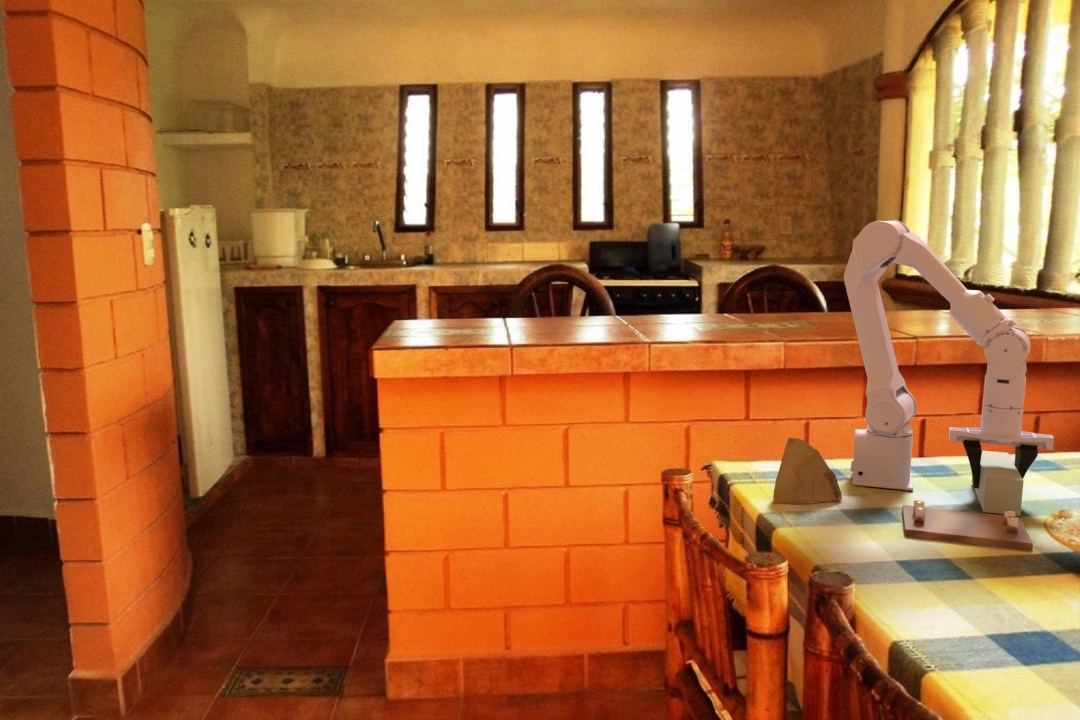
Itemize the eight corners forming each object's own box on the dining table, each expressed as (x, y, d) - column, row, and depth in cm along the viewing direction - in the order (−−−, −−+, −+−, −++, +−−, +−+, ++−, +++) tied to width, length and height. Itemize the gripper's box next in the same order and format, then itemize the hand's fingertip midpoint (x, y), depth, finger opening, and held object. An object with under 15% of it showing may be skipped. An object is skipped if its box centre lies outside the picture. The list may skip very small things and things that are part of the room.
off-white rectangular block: (1020, 515, 130) (1023, 480, 130) (983, 512, 132) (986, 477, 131) (1004, 484, 145) (1007, 452, 144) (971, 481, 147) (974, 449, 146)
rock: (850, 480, 142) (790, 463, 147) (852, 448, 136) (789, 432, 141) (831, 534, 136) (768, 514, 141) (832, 503, 130) (767, 484, 135)
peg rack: (905, 535, 124) (906, 515, 123) (902, 511, 134) (903, 492, 133) (1032, 550, 118) (1034, 529, 118) (1019, 523, 128) (1021, 504, 128)
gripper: (954, 407, 135) (947, 490, 137) (1061, 414, 130) (1052, 501, 132) (950, 397, 141) (943, 478, 144) (1051, 404, 136) (1043, 487, 139)
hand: (995, 488), depth 139 cm, fingers closed on off-white rectangular block, 5 cm apart
